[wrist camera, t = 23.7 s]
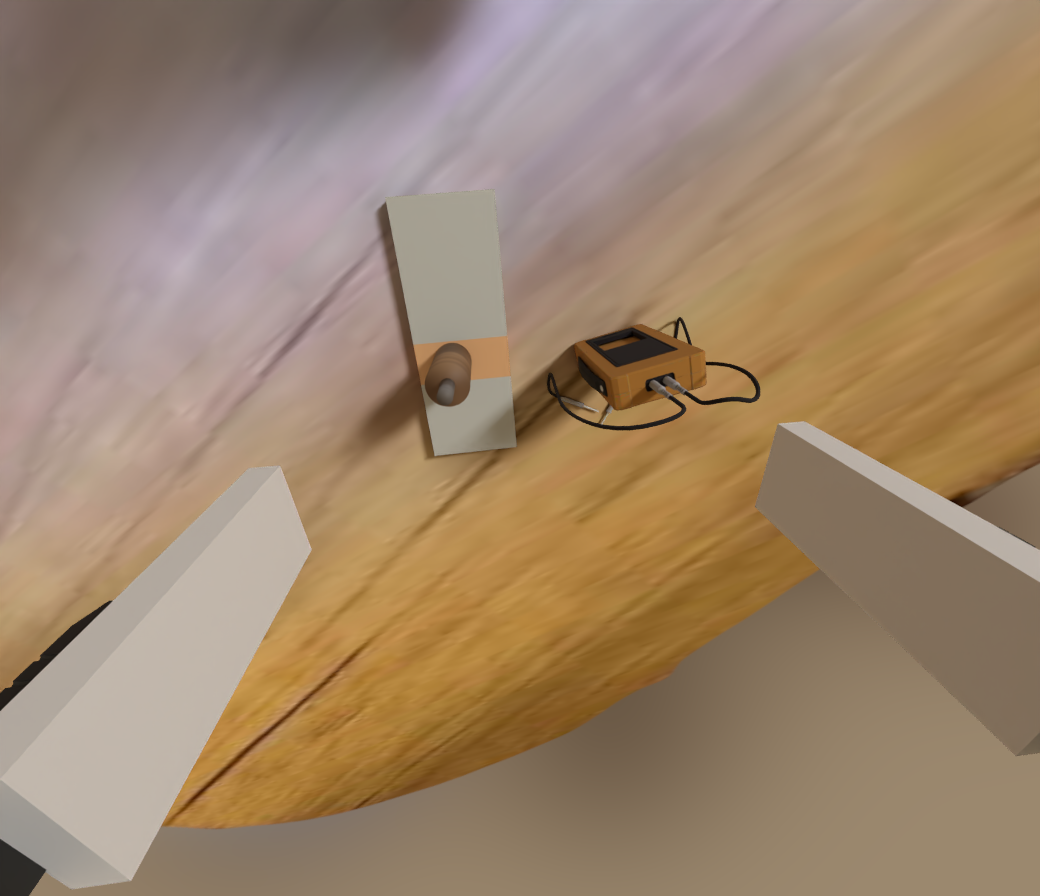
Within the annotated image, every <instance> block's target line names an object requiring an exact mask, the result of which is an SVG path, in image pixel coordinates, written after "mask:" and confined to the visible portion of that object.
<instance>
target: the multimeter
mask: <svg viewBox="0 0 1040 896" xmlns="http://www.w3.org/2000/svg"><path fill="white" fill-rule="evenodd" d="M679 321H681V324H682V326H683V328H684V331H685V334H686V337H687V341H688V344H687V343H685V342H683V341H680V340H678V339H677V335H678V327H679ZM574 349H575V354H576V359H577V363H578V368H579V371H580V373H581V375H582V377H583V378H584V379H585V380H586V381H587V382H588V384H589V385H590V386H591V387H593V388H594V389H595V390H597V391H598V392H599V393H600V394H601V395H602V396H603V397H604V398H605V400H606V401H607V402H608V403H609V404H610V406H609V407H608V409H607V410H606V411H607V413H606V415H605V417H604V419H603V420H602V422H601V424H598V423H594V422H591V421H588V420H585V419H583V418H581V417H578V416H577V415H575V414H573V413H572V412H571V411H570V410H568V409H567V408H566V407H565V405H564V404H563V402H562V401H564V402H567V403H570V404H573V405H576V406H578V407H580V408H583V407H585V408H588V409H590V410H593V411H597V410H596V409H593V408H590V407H587V406H585V405H584V403H580V402H577V401H574V400H572V399H569V398H566V397H562V396H561V397H560V395H559V393H558V389H557V386H556V383H555V380H554V377H553V374H552V373H549V375H548V381H547V386H548V391H549V392H550V394H551V395H553V396H554V397H557V398H558V401H559V403H560V405H561V407H562V408H563V409H564V410H565V411H566V412H567V413H568V414H569V415H571V416H572V417H574V418H575V419H577V420H579V421H581V422H583V423H586V424H589V425H591V426H595V427H599V428H603V429H610V430H636V429H644V428H649V427H653V426H657V425H661V424H664V423H667V422H670V421H673V420H675V419H677V418H679V417H680V416H682V415H683V414H684V413H685V411H686V407H685V405H684V404H683V403H681V402H680V401H678V400H677V399H676V398H674V397H673V395H675V394H679V393H682V394H683V395H686V396H688V397H689V398H691V399H692V400H694V401H695V402H697V403H699V404H701V405H711V404H716V403H722V402H730V401H739V402H746V403H752V402H755V401H757V400H758V399H759V397H760V386H759V383H758V381H757V380H756V378H755V377H754V376H753V375H752V374H751V373H750V372H748V371H747V370H745V369H743V368H741V367H738V366H735V365H732V364H727V363H719V362H705V351H703V350H701V349H699V348H697V347H694V346H692V343H691V340H690V337H689V334H688V331H687V328H686V326H685V323H684V321H683V319H682V318H681V317H679V318H678V319H677V323H676V331H675V337H671V336H669V335H666V334H664V333H662V332H659V331H657V330H654V329H652V328H649V327H647V326H644V325H642V324H639V325H634V326H631V327H629V328H625V329H622V330H618V331H615V332H612V333H608V334H605V335H601V336H598V337H595V338H591V339H588V340H583V341H580V342H577V343H575V345H574ZM706 365H717V366H725V367H730V368H733V369H736V370H738V371H740V372H742V373H744V374H745V375H747V376H748V377H749V378H750V379H751V381H752V382H753V383H754V386H755V388H756V395H755V397H753V398H751V399H750V398H743V397H726V398H720V399H715V400H709V401H701V400H699V399H698V398H696V397H695V396H693V395H692V394H690V393H689V392H688V391H689V390H694V389H697V388H700V387H703V386H704V385H706V384H707V379H706ZM550 377H551V379H552V382H553V386H554V389H555V392H556V394H554V393H553V392H552V391H551V390H550ZM665 397H666V398H667V399H669V400H672V401H673V402H674V403H676V404H677V405H678V406H680V407H681V408H682V410H681V412H679V413H678V414H676V415H674V416H671V417H669V418H666V419H663V420H659V421H656V422H651V423H647V424H642V425H634V426H610V425H603V422H604V420H605V419H606V417H607V415H608V413H611V411H612V409H614V410H624V409H628V408H631V407H634V406H637V405H640V404H644V403H647V402H651V401H654V400H658V399H661V398H665ZM597 412H599V411H597Z"/></svg>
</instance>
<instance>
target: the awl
mask: <svg viewBox="0 0 1040 896" xmlns="http://www.w3.org/2000/svg"><path fill="white" fill-rule="evenodd" d="M471 365H472V360H471V356H470V353H469V352H468V350H467V349H466V348H465V347H464V346H462V345H460V344H457V343H447V344H444V345H443V346H441V347H440V348H439V349H438V350H437V352H436V354H435V356H434V359H433V361H432V364H431V366H430V368H429V371H428V373H427V376H426V378H425V390H426V393H427V395H428V396H429V398H430V399H431V400H432V401H433V402H435V403H436V404H438V405H441V406H445V407H452V406H456V405H459V404H460V403H462V402H463V401H464V400H465V399H466V398H467V396H468V394H469V391H470V382H471Z"/></svg>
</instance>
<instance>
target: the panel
mask: <svg viewBox="0 0 1040 896" xmlns="http://www.w3.org/2000/svg"><path fill="white" fill-rule="evenodd" d="M385 199H386V204H387V210H388V215H389V220H390V225H391V230H392V236H393V241H394V246H395V251H396V257H397V262H398V267H399V272H400V277H401V283H402V288H403V293H404V298H405V304H406V309H407V314H408V319H409V324H410V330H411V335H412V340H413V345H414V351H415V356H416V361H417V366H418V371H419V377H420V382H421V387H422V392H423V398H424V403H425V408H426V413H427V418H428V424H429V429H430V434H431V439H432V445H433V450H434V455H435V456H438V455H447V454H456V453H465V452H475V451H484V450H493V449H502V448H511V447H517V444H516V432H515V421H514V409H513V398H512V386H511V375H510V363H509V352H508V340H507V329H506V317H505V306H504V294H503V283H502V271H501V260H500V248H499V237H498V225H497V214H496V202H495V191H494V189H490V190H476V191H463V192H449V193H436V194H423V195H409V196H396V197H385ZM447 343H457V344H460V345H462V346H464V347H465V348H466V349H467V350H468V352H469V353H470V356H471V360H472V365H471V382H470V391H469V394H468V396H467V398H466V399H465V400H464V401H463V402H462V403H460V404H459V405H456V406H452V407H445V406H441V405H438V404H436V403H435V402H433V401H432V400H431V399H430V398H429V396H428V395H427V393H426V390H425V378H426V376H427V373H428V371H429V368H430V366H431V364H432V361H433V359H434V356H435V354H436V352H437V350H438V349H439V348H440V347H441V346H443V345H444V344H447Z"/></svg>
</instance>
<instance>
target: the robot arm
mask: <svg viewBox="0 0 1040 896" xmlns="http://www.w3.org/2000/svg"><path fill="white" fill-rule="evenodd" d="M755 507H756V508H757V509H758V510H759V511H760V512H761V513H762V514H763V515H764V516H765V517H766V518H767V519H768V520H769V521H770V522H771V523H773V524H774V525H775V526H776V527H777V528H778V529H779V530H780V531H781V532H782V533H783V534H784V535H785V536H786V537H787V538H788V539H789V540H790V541H791V542H792V543H793V544H795V545H796V546H797V547H798V548H799V549H800V550H801V551H802V552H803V553H804V554H805V555H806V556H807V557H808V558H809V559H810V560H811V561H812V562H813V563H814V564H815V565H816V566H818V567H819V568H820V569H821V570H822V571H823V572H824V573H825V574H826V575H827V576H828V577H829V578H830V579H831V580H832V581H833V582H834V583H835V584H836V585H838V587H840V588H841V589H842V590H843V591H844V592H845V593H846V594H847V595H848V596H849V597H850V598H851V599H852V600H853V601H854V602H855V603H857V605H858V606H859V607H860V608H861V609H863V610H864V611H865V612H866V613H867V614H868V615H869V616H870V617H871V618H872V619H873V620H874V621H875V622H876V623H877V624H878V625H879V626H880V627H881V628H882V629H884V630H885V631H886V632H887V633H888V634H889V635H890V636H891V637H892V638H893V639H894V640H895V641H896V642H897V643H898V644H899V645H900V646H901V647H902V648H904V650H906V652H908V653H909V654H910V655H911V656H912V657H913V658H914V659H915V660H916V661H917V662H918V663H919V664H920V665H921V666H922V667H923V668H924V669H925V670H927V672H928V673H930V674H931V675H932V676H933V677H934V678H935V679H936V680H937V681H938V682H939V683H940V684H941V685H942V686H943V687H944V688H945V689H946V690H947V691H948V692H949V693H950V694H952V695H953V696H954V697H955V698H956V699H957V700H958V701H959V702H960V703H961V704H962V705H963V706H964V707H965V708H966V709H967V710H968V711H969V712H970V713H971V714H972V715H974V716H975V717H976V718H977V719H978V720H979V721H980V722H981V723H982V724H983V725H984V726H985V727H986V728H987V729H988V730H989V731H990V732H992V733H993V735H994V736H996V738H998V739H999V740H1000V741H1001V742H1002V743H1003V744H1004V745H1005V746H1006V747H1007V748H1008V749H1009V750H1010V751H1011V752H1012V753H1013V754H1014V755H1015V756H1020V755H1028V754H1035V753H1040V550H1038V549H1036V548H1035V546H1033V545H1031V544H1029V543H1028V542H1026V541H1024V540H1022V539H1020V538H1018V537H1017V536H1015V535H1013V534H1011V533H1009V532H1007V531H1005V530H1003V529H1002V528H1000V527H997V526H995V525H992V524H991V523H989V522H987V521H985V520H983V519H981V518H980V517H978V516H976V515H974V514H972V513H970V512H969V511H967V510H965V509H963V508H962V507H960V506H958V505H956V504H954V503H952V502H951V501H949V500H947V499H945V498H943V497H941V496H940V495H938V494H936V493H934V492H932V491H931V490H929V489H927V488H925V487H923V486H921V485H920V484H918V483H916V482H914V481H912V480H910V479H909V478H907V477H905V476H903V475H901V474H900V473H898V472H896V471H894V470H892V469H890V468H889V467H887V466H885V465H883V464H881V463H879V462H878V461H876V460H874V459H872V458H870V457H869V456H867V455H865V454H863V453H861V452H859V451H858V450H856V449H854V448H852V447H850V446H848V445H847V444H845V443H843V442H841V441H839V440H837V439H836V438H834V437H832V436H830V435H828V434H827V433H825V432H823V431H821V430H819V429H817V428H816V427H814V426H812V425H810V424H808V423H806V422H793V423H781V424H778V425H777V429H776V432H775V436H774V440H773V443H772V447H771V451H770V454H769V458H768V462H767V465H766V469H765V472H764V476H763V480H762V483H761V487H760V491H759V494H758V498H757V502H756V505H755ZM311 550H312V549H311V547H310V544H309V541H308V539H307V536H306V533H305V531H304V528H303V525H302V523H301V520H300V517H299V515H298V512H297V509H296V507H295V504H294V501H293V499H292V496H291V493H290V491H289V488H288V485H287V483H286V480H285V477H284V475H283V472H282V469H281V467H280V466H270V467H258V468H248V469H247V470H246V471H245V472H244V473H243V474H242V475H241V476H240V477H239V478H238V479H237V480H236V481H235V482H234V483H233V484H232V485H231V486H230V487H229V488H228V489H227V490H226V491H225V492H224V493H223V494H222V495H221V496H220V497H219V498H218V499H217V500H216V501H215V502H214V503H213V504H212V505H211V506H210V507H209V508H208V509H207V510H205V511H204V512H203V513H202V514H201V515H200V516H199V517H198V518H197V519H196V520H195V521H194V522H193V523H192V524H191V525H190V526H189V527H188V528H187V529H186V530H185V531H184V532H183V533H182V534H181V535H180V536H179V537H178V538H177V539H176V540H175V541H174V542H173V543H172V544H171V545H170V546H169V547H168V548H167V549H166V550H165V551H164V552H163V553H162V554H161V555H159V556H158V557H157V558H156V559H155V560H154V561H153V562H152V563H151V564H150V565H149V566H148V567H147V568H146V569H145V570H144V571H143V572H142V573H141V574H140V575H139V576H138V577H137V578H136V579H135V580H134V581H133V582H132V583H131V584H130V585H129V586H128V587H127V588H126V589H125V590H124V591H123V592H122V593H121V594H120V595H119V596H118V597H117V598H116V599H115V600H113V601H108V602H107V603H105V604H104V605H102V606H101V607H99V608H98V609H96V610H95V611H93V612H92V613H90V614H89V615H87V616H86V617H84V618H83V619H81V620H80V621H78V622H77V623H75V624H74V625H72V626H71V627H70V628H69V629H68V630H67V631H66V632H65V633H64V634H63V635H62V636H60V637H59V638H58V639H57V640H56V641H55V642H54V643H53V644H52V645H51V646H50V647H49V648H48V649H47V650H46V651H45V652H43V653H42V654H41V655H40V656H41V658H40V660H39V661H35V662H33V663H32V664H31V665H30V666H29V667H28V668H26V669H25V670H24V671H23V672H22V673H21V674H20V675H19V676H18V677H17V678H16V679H15V680H14V681H13V685H12V687H10V688H5V689H4V690H3V691H2V692H1V693H0V896H29V895H30V893H31V892H32V890H33V889H34V887H35V886H36V885H37V883H38V882H39V880H40V879H41V877H42V876H43V874H44V873H45V872H46V873H48V874H49V875H51V876H52V877H54V878H55V879H57V880H58V881H60V882H61V883H63V884H64V885H66V886H67V887H69V888H71V889H76V888H83V887H91V886H98V885H105V884H112V883H119V882H126V881H131V880H132V878H133V876H134V874H135V872H136V871H137V869H138V867H139V865H140V863H141V861H142V860H143V858H144V856H145V854H146V852H147V850H148V849H149V847H150V845H151V843H152V841H153V839H154V838H155V836H156V834H157V832H158V830H159V828H160V827H161V825H162V823H163V821H164V819H165V817H166V816H167V814H168V812H169V810H170V808H171V806H172V805H173V803H174V801H175V799H176V797H177V796H178V794H179V792H180V790H181V788H182V786H183V785H184V783H185V781H186V779H187V777H188V775H189V774H190V772H191V770H192V768H193V766H194V764H195V763H196V761H197V759H198V757H199V755H200V753H201V752H202V750H203V748H204V746H205V744H206V742H207V741H208V739H209V737H210V735H211V733H212V731H213V730H214V728H215V726H216V724H217V722H218V720H219V719H220V717H221V715H222V713H223V711H224V709H225V708H226V706H227V704H228V702H229V700H230V698H231V697H232V695H233V693H234V691H235V689H236V687H237V686H238V684H239V682H240V680H241V678H242V676H243V675H244V673H245V671H246V669H247V667H248V665H249V664H250V662H251V660H252V658H253V656H254V654H255V653H256V651H257V649H258V647H259V645H260V643H261V642H262V640H263V638H264V636H265V634H266V632H267V631H268V629H269V627H270V625H271V623H272V621H273V620H274V618H275V616H276V614H277V612H278V610H279V609H280V607H281V605H282V603H283V601H284V599H285V598H286V596H287V594H288V592H289V590H290V588H291V587H292V585H293V583H294V581H295V579H296V577H297V576H298V574H299V572H300V570H301V568H302V566H303V565H304V563H305V561H306V559H307V557H308V555H309V554H310V552H311Z"/></svg>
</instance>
